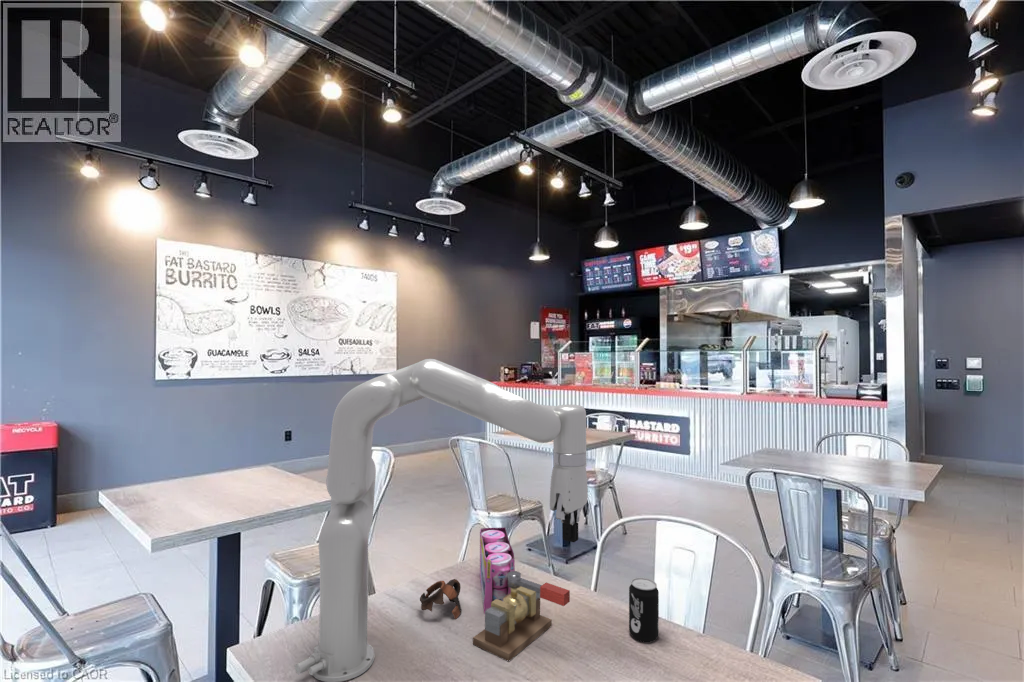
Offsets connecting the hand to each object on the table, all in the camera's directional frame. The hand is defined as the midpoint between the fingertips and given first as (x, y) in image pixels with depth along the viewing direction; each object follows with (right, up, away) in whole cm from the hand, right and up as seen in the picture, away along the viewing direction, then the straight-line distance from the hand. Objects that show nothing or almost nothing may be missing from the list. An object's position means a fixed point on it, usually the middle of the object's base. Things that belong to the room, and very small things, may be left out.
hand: (570, 539), depth 111 cm
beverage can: (+17, -23, +1) cm, 28 cm away
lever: (-8, -11, -2) cm, 14 cm away
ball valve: (-13, -20, +1) cm, 23 cm away
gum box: (-18, -23, +21) cm, 36 cm away
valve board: (-13, -22, +1) cm, 26 cm away
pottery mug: (-31, -23, +11) cm, 40 cm away
